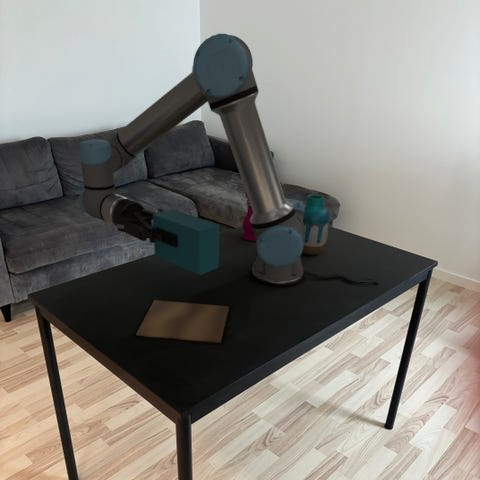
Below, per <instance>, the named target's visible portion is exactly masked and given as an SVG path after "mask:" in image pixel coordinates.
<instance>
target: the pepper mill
mask: <svg viewBox="0 0 480 480" xmlns="http://www.w3.org/2000/svg"><path fill="white" fill-rule="evenodd" d="M245 198H246V199H247V200H246V205H247V212H246V214H245V217H244V219H243V221H242V230H243V231H244V232H243V234H242V235H243V236H242V237H243V240H246V241H248V242H257V240H256V237H255V234H254V231H253V229H252V226H251V223H250V218H251V216H252V214H253V210H252V207H251V204H250V202H249V199H248V196H247V193H246V192H245Z"/></svg>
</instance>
